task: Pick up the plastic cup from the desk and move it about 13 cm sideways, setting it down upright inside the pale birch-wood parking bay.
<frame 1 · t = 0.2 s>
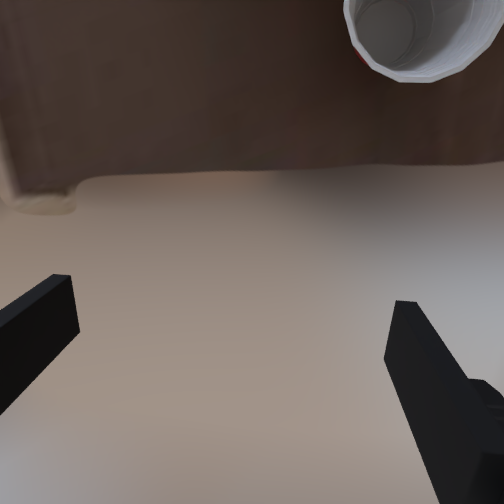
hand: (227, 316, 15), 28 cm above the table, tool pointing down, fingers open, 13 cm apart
plastic cup: (383, 31, 34), on the table
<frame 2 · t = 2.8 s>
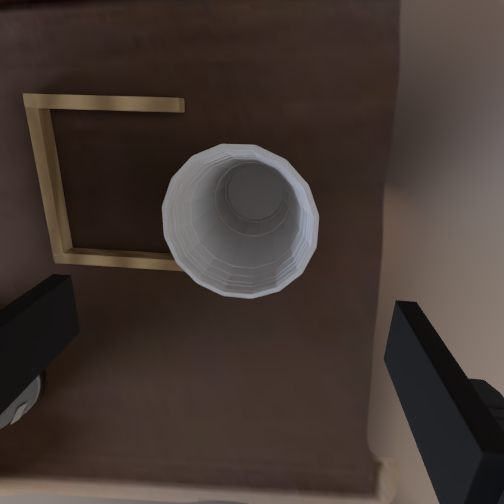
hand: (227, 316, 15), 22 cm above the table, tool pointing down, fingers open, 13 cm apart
parking bay: (124, 185, 36), on the table
plastic cup: (253, 191, 35), on the table
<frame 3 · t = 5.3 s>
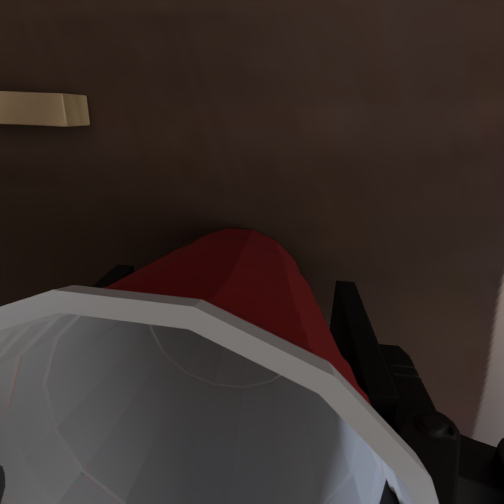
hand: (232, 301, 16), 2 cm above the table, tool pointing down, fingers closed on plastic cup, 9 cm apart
plastic cup: (236, 279, 18), on the table, touching gripper
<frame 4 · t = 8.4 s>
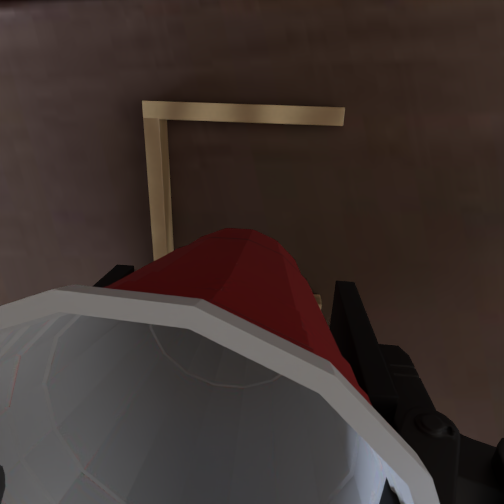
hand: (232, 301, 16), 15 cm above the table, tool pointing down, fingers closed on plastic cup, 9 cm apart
parking bay: (249, 212, 29), on the table
plastic cup: (236, 279, 18), point 12 cm above the table, touching gripper
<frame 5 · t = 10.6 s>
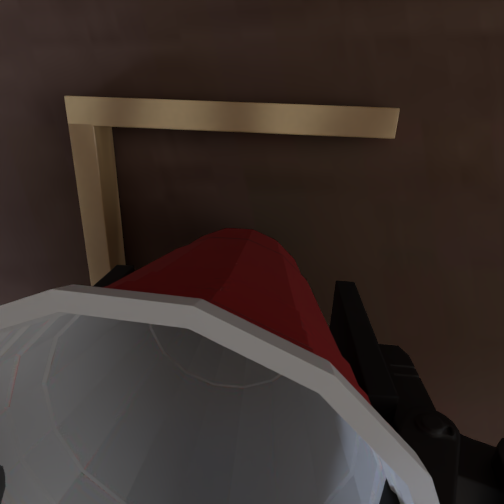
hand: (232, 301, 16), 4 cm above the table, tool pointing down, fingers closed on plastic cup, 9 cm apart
parking bay: (240, 265, 19), on the table
plastic cup: (236, 279, 18), point 2 cm above the table, touching gripper
when the fingers open (2 cm above the table, at t = 11.7 s): plastic cup stays where it is, on the table.
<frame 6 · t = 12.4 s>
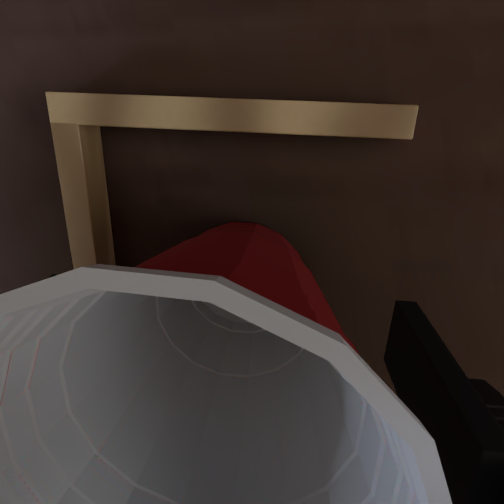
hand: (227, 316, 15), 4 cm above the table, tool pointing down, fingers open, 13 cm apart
parking bay: (240, 276, 18), on the table
plastic cup: (240, 272, 18), on the table
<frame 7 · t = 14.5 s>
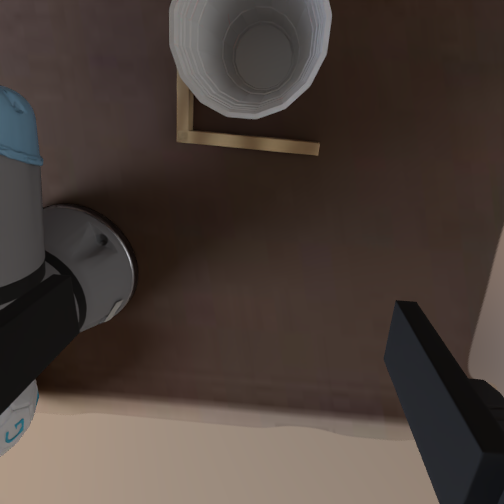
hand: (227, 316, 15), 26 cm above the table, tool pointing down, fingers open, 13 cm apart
puzzle ball: (12, 366, 52), on the table
parking bay: (261, 58, 34), on the table
plastic cup: (261, 57, 34), on the table
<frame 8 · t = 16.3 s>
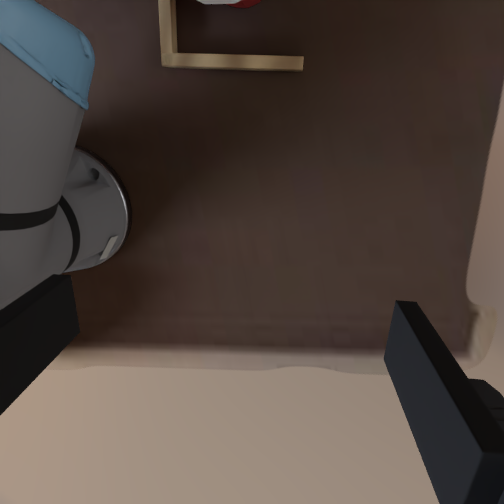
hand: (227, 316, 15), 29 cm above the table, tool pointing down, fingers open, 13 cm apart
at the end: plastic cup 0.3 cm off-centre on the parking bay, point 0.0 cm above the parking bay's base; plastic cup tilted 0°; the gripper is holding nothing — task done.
